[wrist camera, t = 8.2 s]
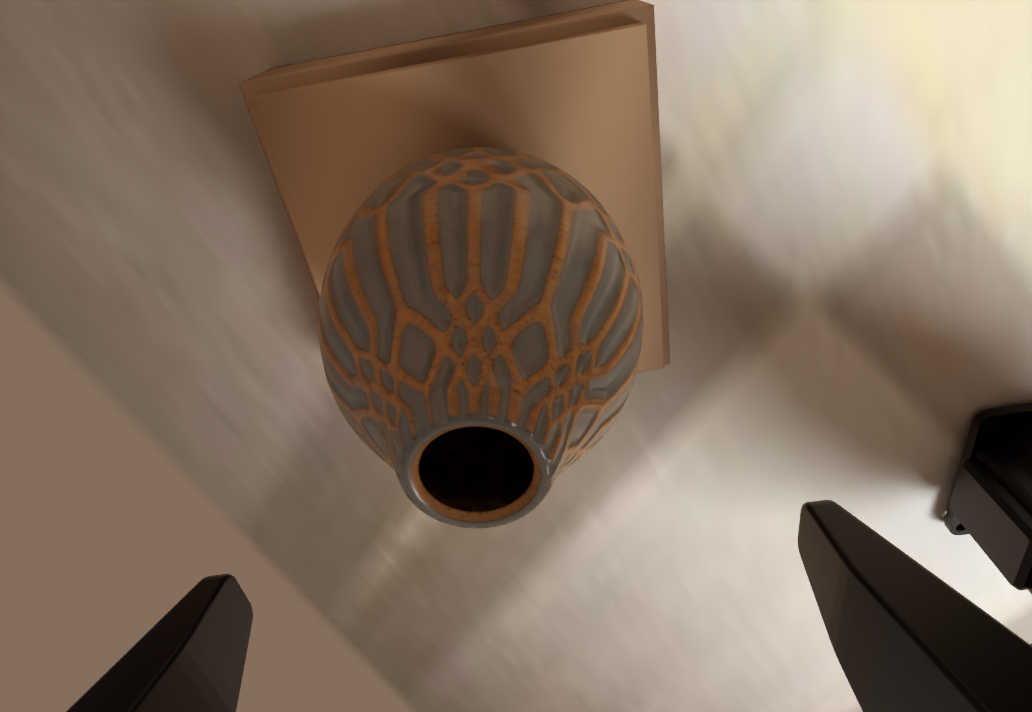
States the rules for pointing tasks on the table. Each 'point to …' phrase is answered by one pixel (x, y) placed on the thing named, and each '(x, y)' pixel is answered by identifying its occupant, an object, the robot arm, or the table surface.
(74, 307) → the table surface
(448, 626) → the table surface
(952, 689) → the robot arm
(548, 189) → the vase
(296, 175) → the plinth
